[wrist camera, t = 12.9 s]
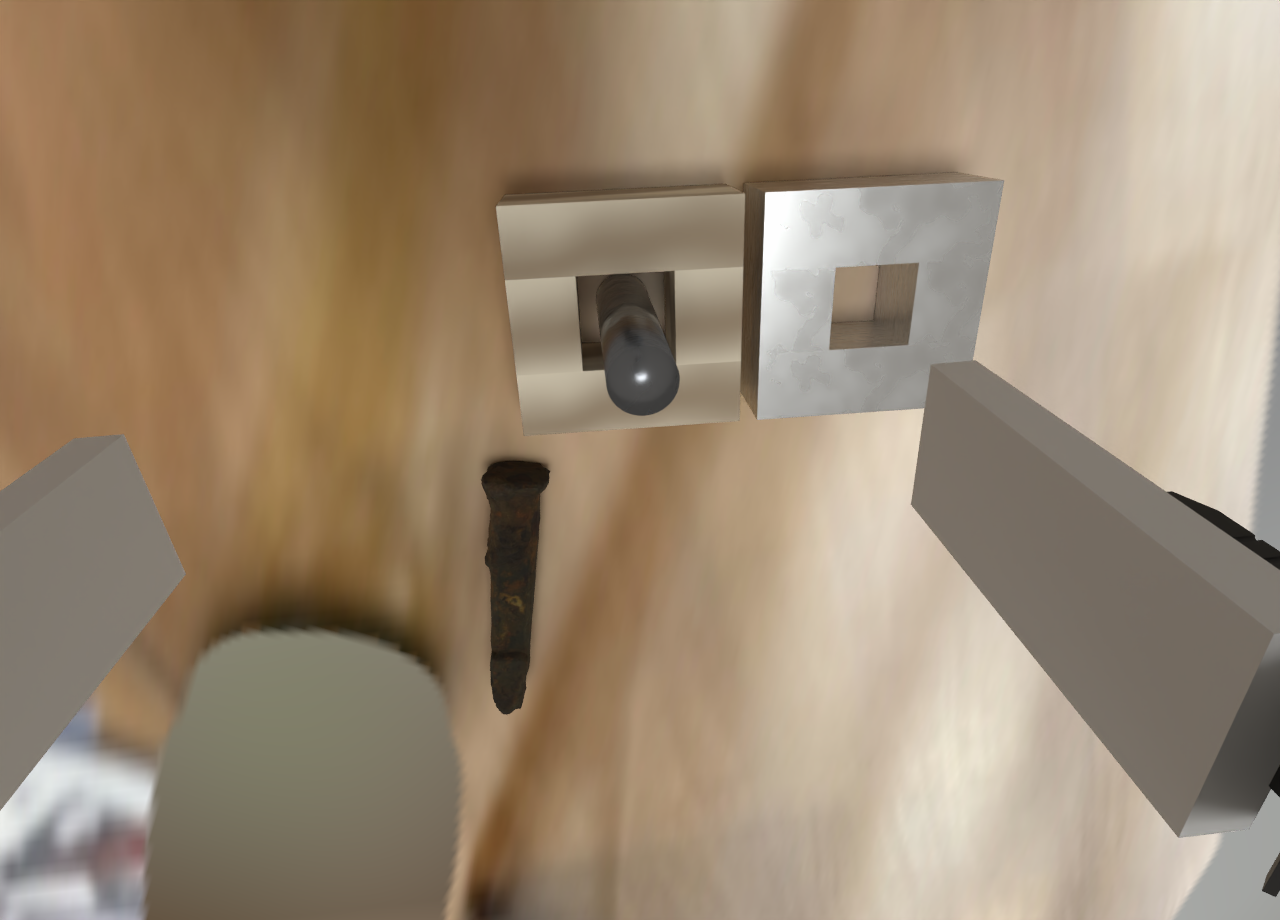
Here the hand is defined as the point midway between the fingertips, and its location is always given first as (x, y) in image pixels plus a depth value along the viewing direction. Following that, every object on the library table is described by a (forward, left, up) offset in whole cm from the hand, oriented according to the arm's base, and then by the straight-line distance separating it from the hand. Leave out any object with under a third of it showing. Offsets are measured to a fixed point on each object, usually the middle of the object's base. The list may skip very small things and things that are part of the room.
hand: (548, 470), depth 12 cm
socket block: (+5, +16, -30) cm, 35 cm away
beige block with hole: (+5, +3, -30) cm, 31 cm away
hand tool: (+24, -5, -31) cm, 39 cm away
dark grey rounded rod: (+5, +3, -30) cm, 31 cm away
